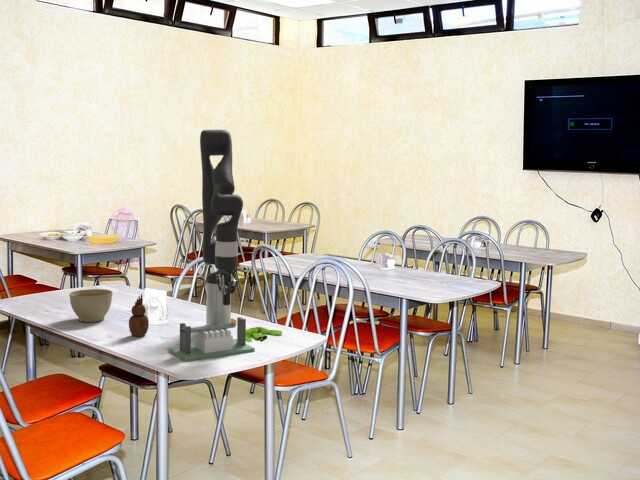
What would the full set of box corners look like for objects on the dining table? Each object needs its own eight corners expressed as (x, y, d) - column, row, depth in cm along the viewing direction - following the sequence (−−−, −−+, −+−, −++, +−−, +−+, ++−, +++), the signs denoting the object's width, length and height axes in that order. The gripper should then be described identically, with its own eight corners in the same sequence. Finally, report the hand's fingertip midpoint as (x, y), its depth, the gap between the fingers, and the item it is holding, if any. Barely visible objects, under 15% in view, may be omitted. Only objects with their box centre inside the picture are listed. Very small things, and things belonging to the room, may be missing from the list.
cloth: (257, 327, 274) (257, 321, 273) (302, 337, 261) (302, 330, 261) (220, 337, 257) (220, 331, 257) (266, 348, 244) (267, 341, 244)
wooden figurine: (142, 332, 259) (142, 292, 258) (151, 335, 255) (151, 294, 254) (126, 335, 255) (125, 294, 253) (134, 338, 251) (134, 297, 249)
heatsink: (168, 350, 236) (168, 321, 235) (236, 341, 250) (236, 313, 249) (184, 361, 225) (184, 330, 223) (254, 351, 238) (255, 322, 237)
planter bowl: (117, 315, 285) (117, 288, 284) (106, 325, 269) (106, 296, 268) (77, 314, 285) (76, 288, 284) (63, 324, 269) (63, 296, 268)
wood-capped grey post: (184, 333, 229) (184, 326, 229) (180, 331, 232) (180, 324, 232) (236, 327, 240) (236, 320, 239) (232, 325, 242) (232, 318, 242)
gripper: (245, 256, 232) (245, 307, 235) (227, 250, 243) (227, 299, 246) (225, 257, 228) (224, 310, 231) (207, 252, 239) (207, 302, 242)
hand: (226, 304), depth 238 cm, fingers closed
